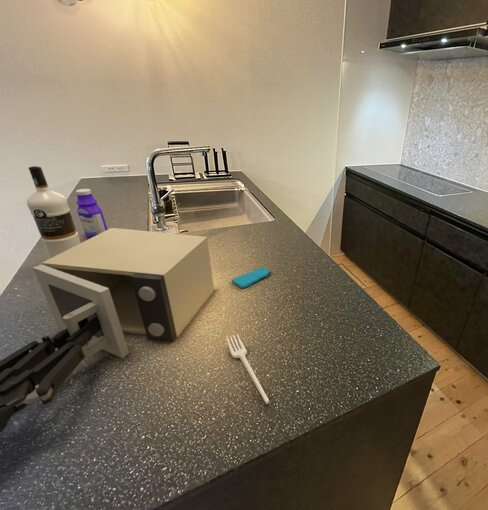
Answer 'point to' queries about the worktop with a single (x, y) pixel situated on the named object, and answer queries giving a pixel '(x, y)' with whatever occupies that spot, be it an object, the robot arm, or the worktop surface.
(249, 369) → the fork
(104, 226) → the bottle
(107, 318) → the microwave door
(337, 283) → the worktop surface
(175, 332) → the microwave
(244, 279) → the sponge
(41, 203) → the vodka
